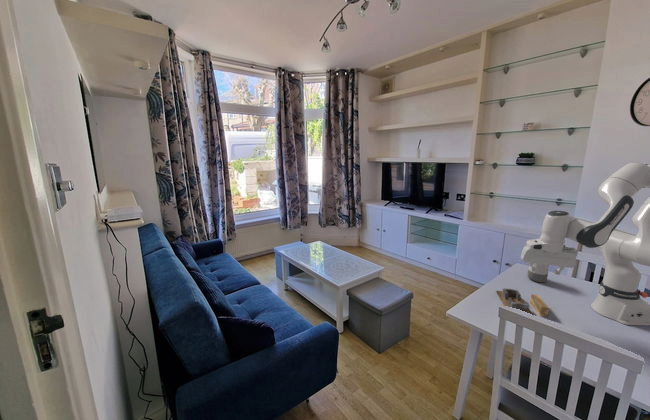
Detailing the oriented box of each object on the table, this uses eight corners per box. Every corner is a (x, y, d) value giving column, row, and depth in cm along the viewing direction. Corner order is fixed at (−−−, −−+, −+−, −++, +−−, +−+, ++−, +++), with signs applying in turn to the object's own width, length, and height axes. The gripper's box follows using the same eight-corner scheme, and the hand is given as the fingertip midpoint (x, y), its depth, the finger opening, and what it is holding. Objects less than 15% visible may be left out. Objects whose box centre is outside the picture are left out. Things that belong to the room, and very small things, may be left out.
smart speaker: (530, 274, 165) (534, 253, 162) (548, 280, 158) (553, 258, 154) (524, 279, 160) (528, 257, 156) (543, 285, 153) (547, 263, 149)
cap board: (517, 294, 145) (518, 287, 144) (533, 317, 126) (534, 309, 125) (496, 292, 148) (497, 284, 146) (508, 314, 129) (510, 306, 128)
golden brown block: (536, 303, 137) (538, 295, 136) (547, 317, 127) (549, 308, 125) (529, 302, 138) (531, 294, 136) (539, 316, 128) (541, 307, 126)
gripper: (575, 245, 123) (568, 273, 127) (522, 240, 130) (517, 266, 134) (582, 251, 118) (575, 279, 121) (526, 244, 125) (521, 271, 128)
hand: (544, 272), depth 128 cm, fingers open, 8 cm apart
